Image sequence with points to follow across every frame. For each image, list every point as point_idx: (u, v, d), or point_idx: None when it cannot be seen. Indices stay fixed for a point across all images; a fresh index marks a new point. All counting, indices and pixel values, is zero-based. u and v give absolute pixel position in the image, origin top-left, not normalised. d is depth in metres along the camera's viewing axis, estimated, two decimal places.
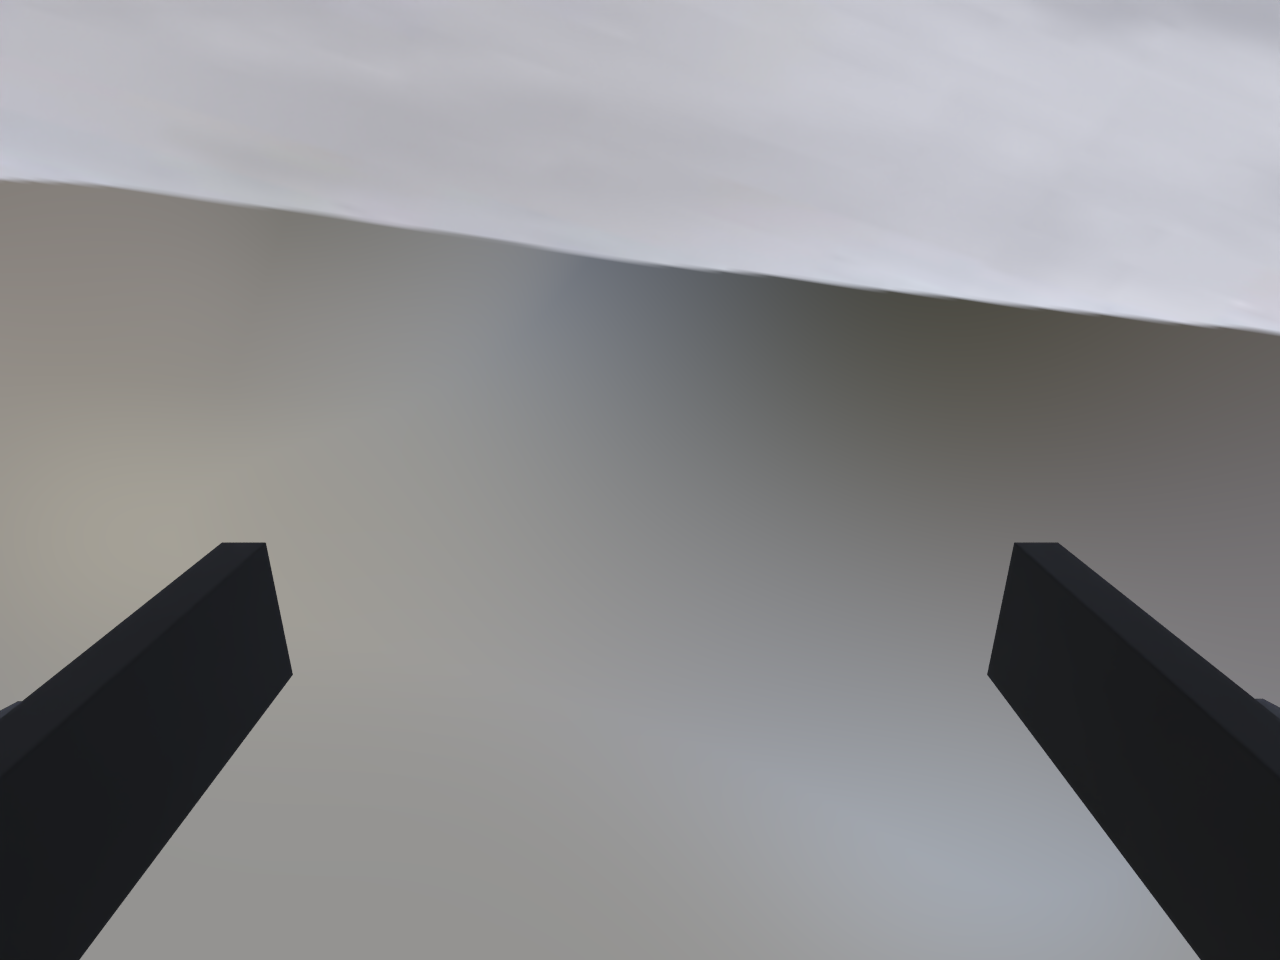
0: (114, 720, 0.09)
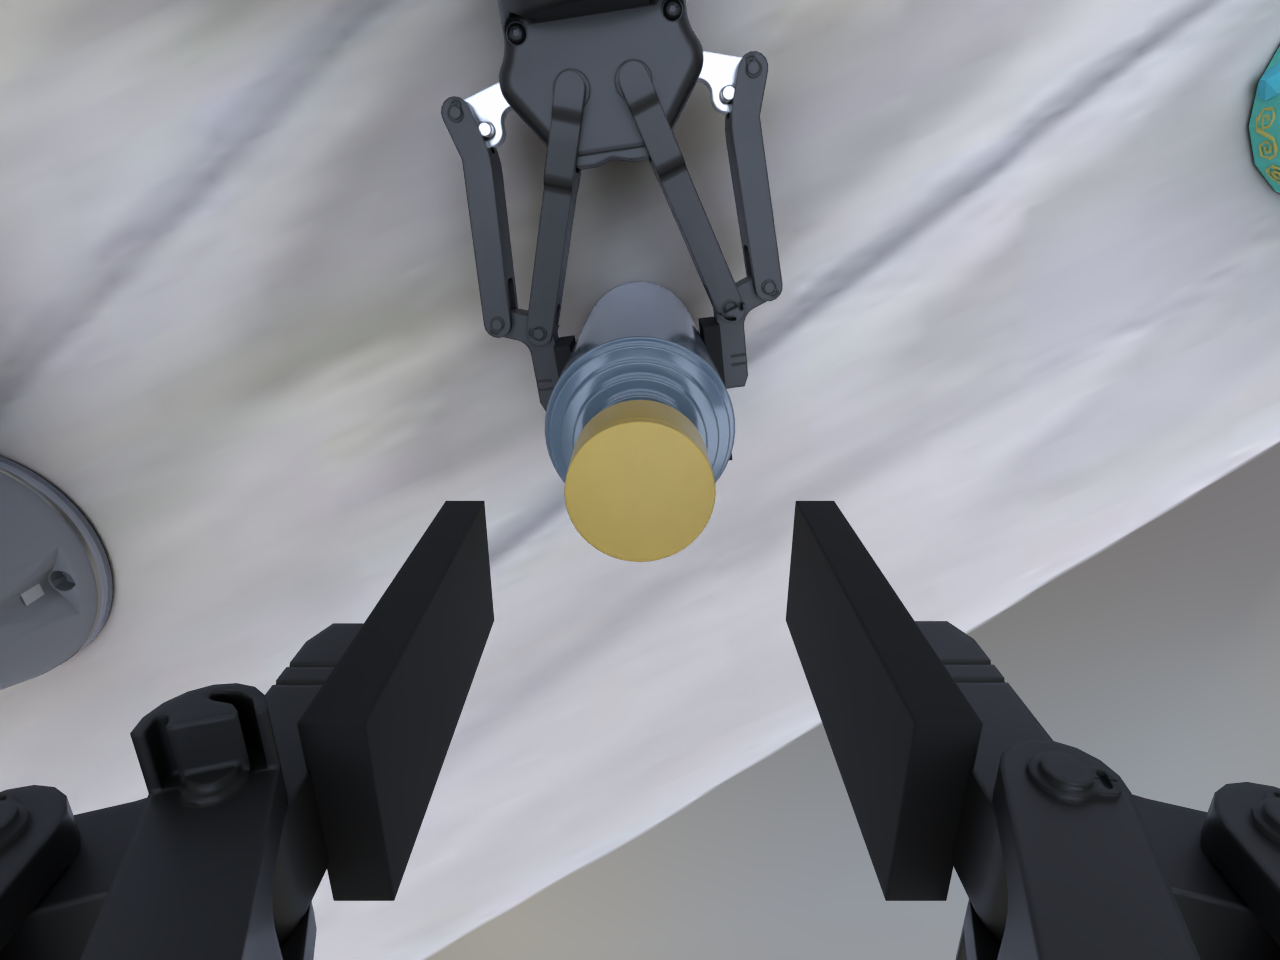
0: (431, 635, 0.10)
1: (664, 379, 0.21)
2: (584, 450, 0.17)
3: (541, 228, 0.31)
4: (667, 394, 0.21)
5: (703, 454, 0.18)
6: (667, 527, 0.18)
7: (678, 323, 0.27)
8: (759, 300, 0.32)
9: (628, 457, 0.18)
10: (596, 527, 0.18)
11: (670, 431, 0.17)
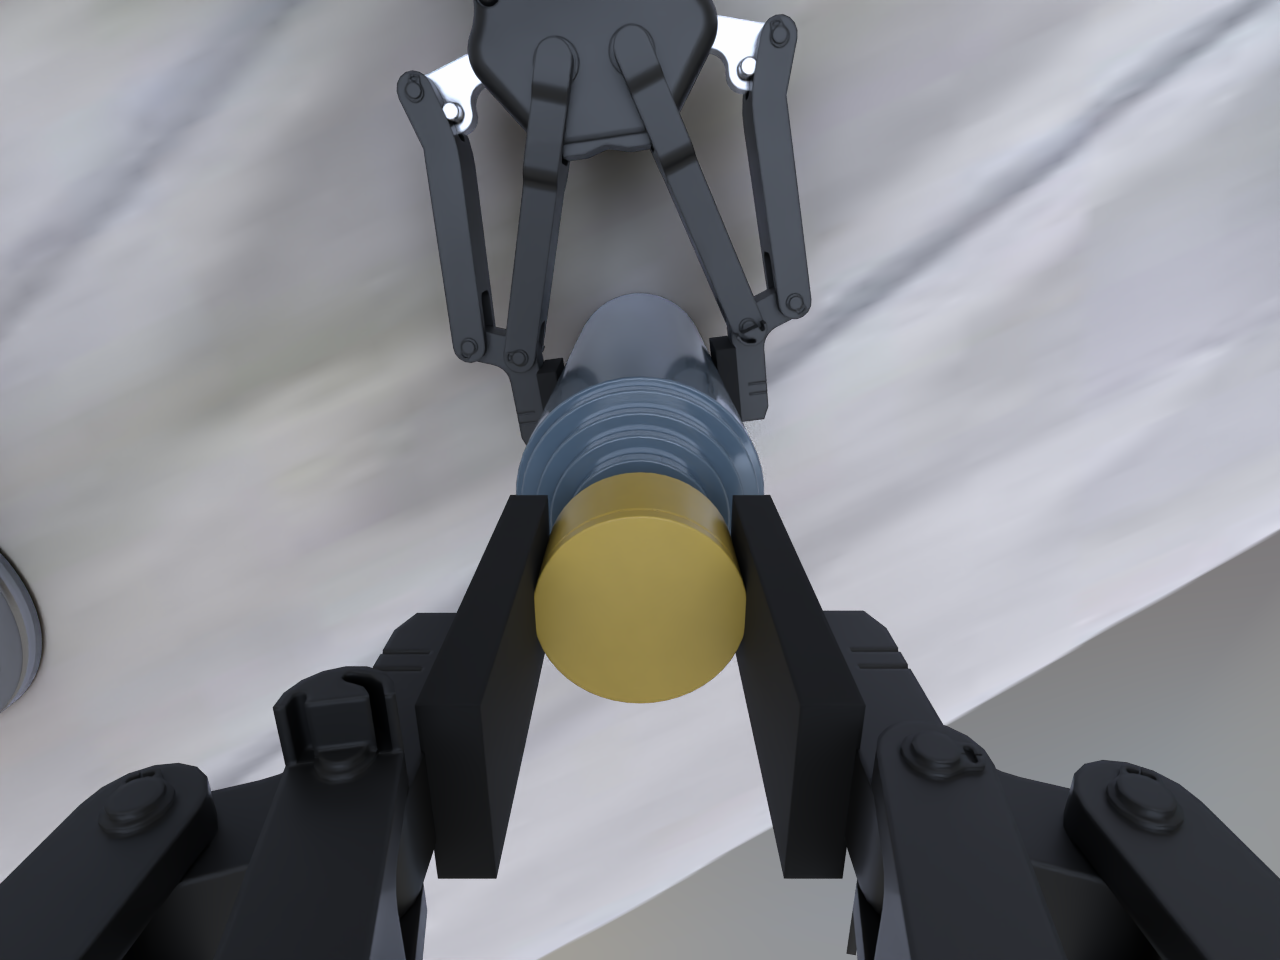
0: (517, 623, 0.11)
1: (672, 435, 0.16)
2: (560, 555, 0.12)
3: (520, 232, 0.26)
4: (676, 456, 0.16)
5: (731, 560, 0.12)
6: (679, 658, 0.13)
7: (688, 351, 0.22)
8: (783, 318, 0.27)
9: (623, 565, 0.12)
10: (578, 658, 0.13)
11: (684, 529, 0.12)
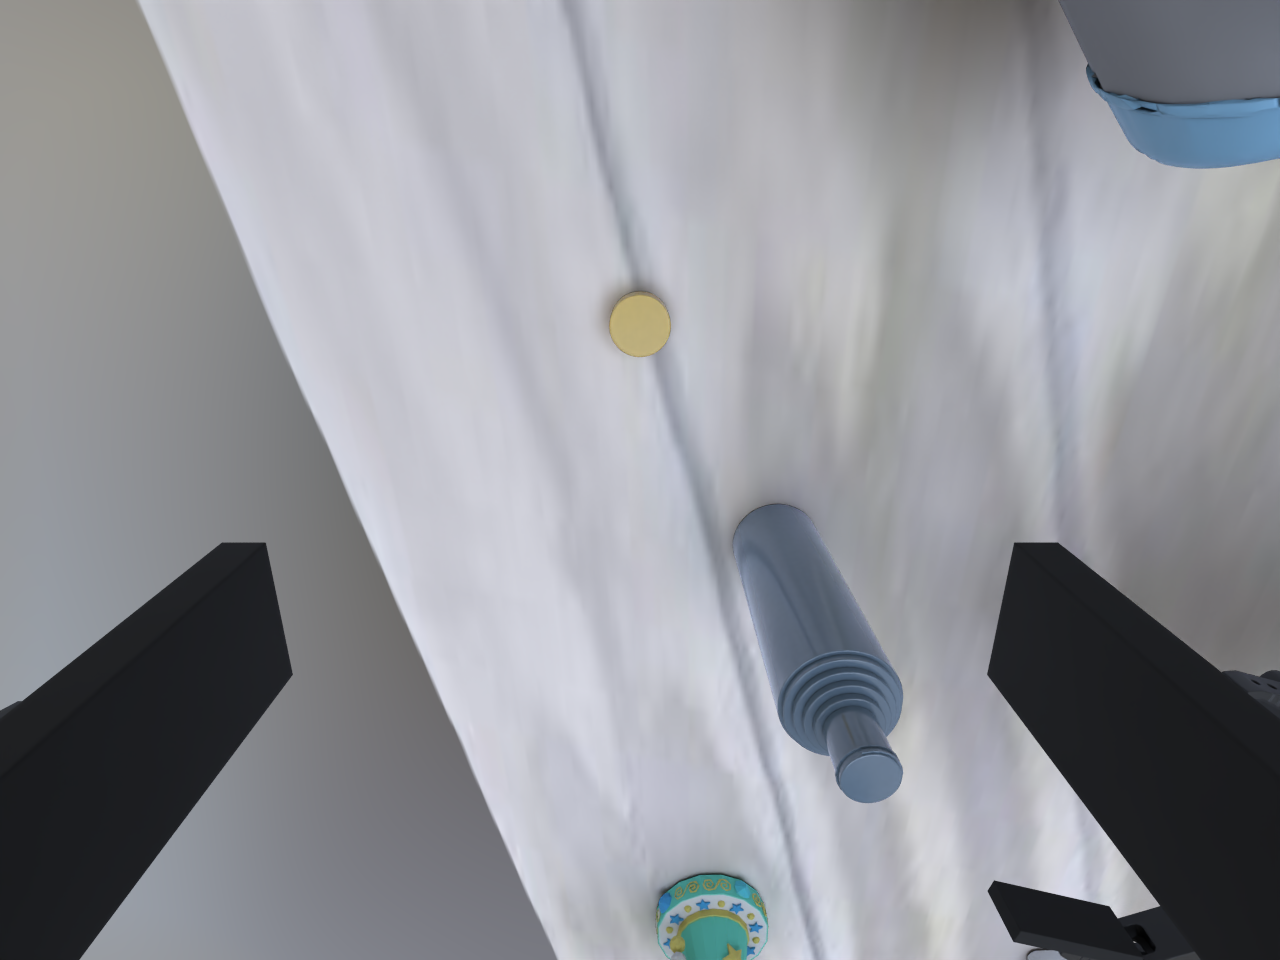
0: (114, 720, 0.09)
1: None
2: (624, 301, 0.44)
3: None
4: None
5: None
6: (646, 343, 0.45)
7: None
8: None
9: (640, 309, 0.44)
10: (618, 335, 0.44)
11: (659, 304, 0.44)
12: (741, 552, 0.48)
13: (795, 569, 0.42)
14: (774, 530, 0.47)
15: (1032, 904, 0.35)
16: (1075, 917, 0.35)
